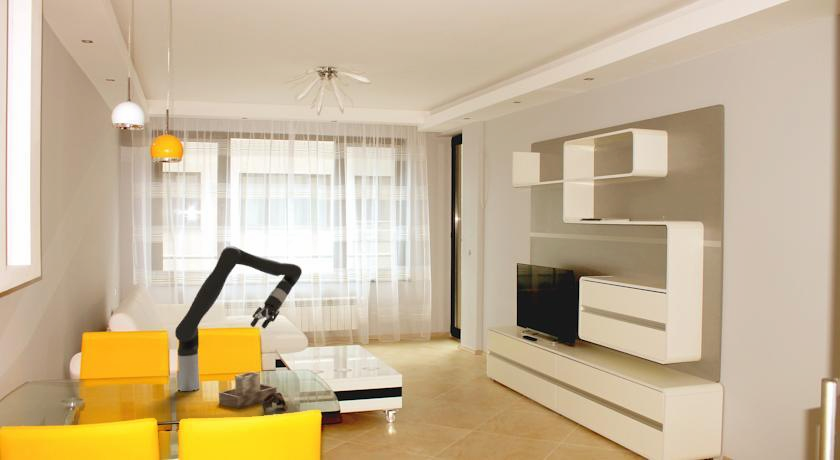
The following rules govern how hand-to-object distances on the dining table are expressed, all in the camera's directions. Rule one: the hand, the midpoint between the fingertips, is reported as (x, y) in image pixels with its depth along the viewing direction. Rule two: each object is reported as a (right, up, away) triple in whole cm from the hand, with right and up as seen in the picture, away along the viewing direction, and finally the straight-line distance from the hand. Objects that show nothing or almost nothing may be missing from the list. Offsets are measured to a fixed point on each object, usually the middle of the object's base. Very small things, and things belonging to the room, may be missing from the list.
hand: (257, 326), depth 306 cm
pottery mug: (+16, -31, -31) cm, 46 cm away
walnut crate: (0, -31, -15) cm, 35 cm away
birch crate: (0, -30, -15) cm, 34 cm away
